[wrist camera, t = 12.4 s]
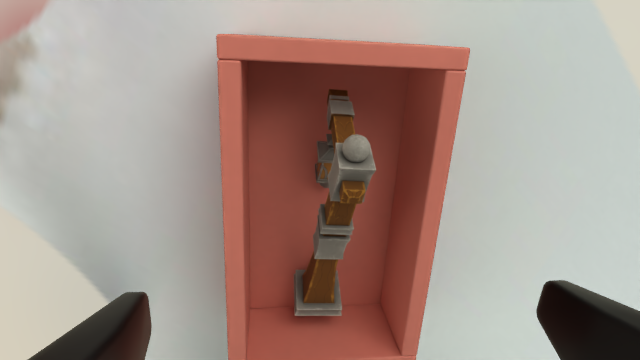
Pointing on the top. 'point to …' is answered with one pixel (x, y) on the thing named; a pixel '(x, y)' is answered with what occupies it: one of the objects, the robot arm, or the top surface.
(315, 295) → the wooden post with brackets
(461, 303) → the top surface
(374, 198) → the tray
